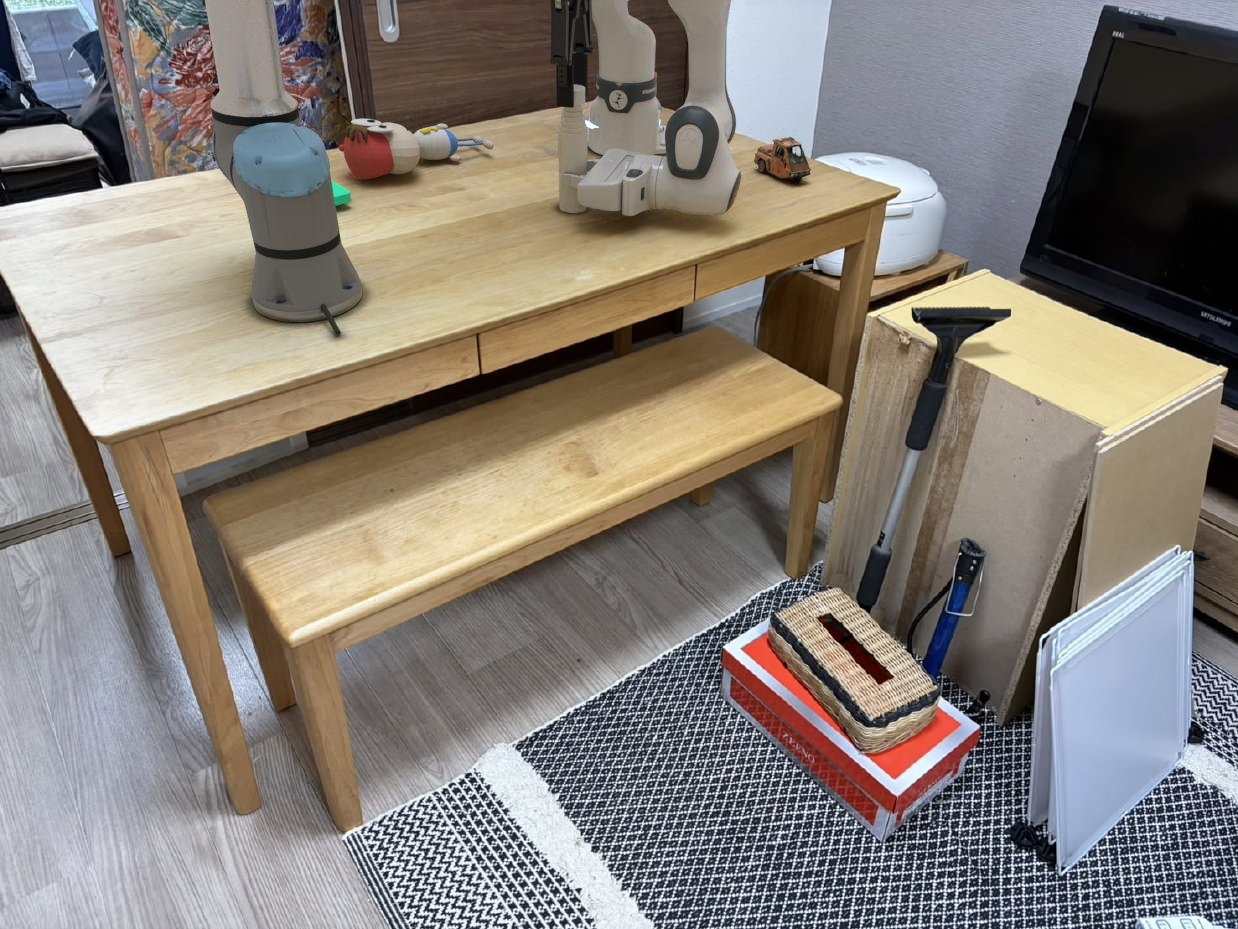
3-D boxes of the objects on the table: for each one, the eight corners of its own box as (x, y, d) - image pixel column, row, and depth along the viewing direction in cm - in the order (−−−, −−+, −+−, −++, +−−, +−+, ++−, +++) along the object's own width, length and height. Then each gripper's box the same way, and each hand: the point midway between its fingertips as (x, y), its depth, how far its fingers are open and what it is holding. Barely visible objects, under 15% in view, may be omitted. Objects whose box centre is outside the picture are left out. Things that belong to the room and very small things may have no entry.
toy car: (770, 163, 186) (774, 128, 182) (815, 180, 179) (820, 144, 175) (747, 169, 183) (751, 133, 179) (792, 187, 176) (798, 150, 172)
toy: (509, 125, 177) (354, 129, 162) (508, 179, 181) (358, 188, 166) (468, 109, 190) (322, 111, 175) (468, 160, 195) (326, 166, 180)
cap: (573, 96, 157) (573, 82, 155) (590, 102, 154) (590, 87, 153) (554, 101, 154) (554, 87, 153) (572, 107, 152) (572, 92, 151)
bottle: (592, 209, 165) (593, 91, 153) (570, 215, 162) (569, 96, 150) (575, 200, 168) (575, 85, 156) (553, 206, 166) (551, 89, 153)
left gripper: (574, -46, 132) (575, 119, 146) (614, -64, 147) (611, 87, 161) (525, -50, 134) (530, 114, 147) (569, -67, 149) (570, 83, 162)
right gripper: (659, 144, 165) (585, 135, 168) (630, 182, 149) (548, 172, 152) (658, 179, 169) (585, 170, 172) (628, 220, 153) (549, 209, 156)
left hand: (572, 100), depth 154 cm, fingers open, 6 cm apart
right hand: (568, 171), depth 162 cm, fingers closed on bottle, 5 cm apart
